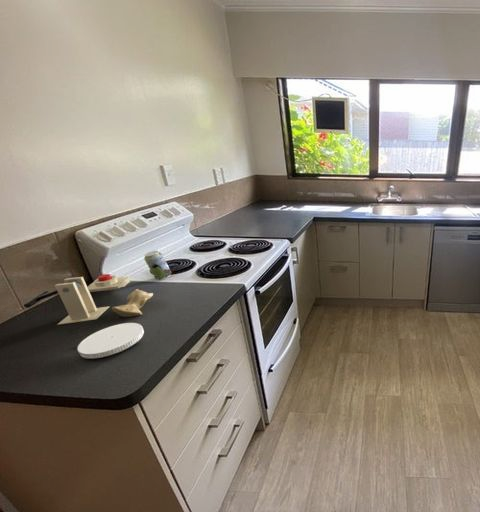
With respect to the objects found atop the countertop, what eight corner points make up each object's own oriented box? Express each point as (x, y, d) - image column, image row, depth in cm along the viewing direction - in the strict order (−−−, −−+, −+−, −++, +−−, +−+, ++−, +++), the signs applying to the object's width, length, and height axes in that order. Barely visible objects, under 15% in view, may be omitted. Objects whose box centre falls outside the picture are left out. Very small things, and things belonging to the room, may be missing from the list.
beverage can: (174, 277, 124) (166, 251, 119) (153, 283, 118) (144, 256, 114) (170, 273, 127) (162, 248, 123) (150, 278, 122) (141, 252, 118)
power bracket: (58, 327, 90) (39, 289, 85) (75, 313, 98) (57, 277, 92) (97, 322, 93) (81, 284, 88) (110, 309, 100) (96, 273, 95)
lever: (27, 309, 86) (20, 303, 85) (47, 296, 93) (41, 291, 92) (70, 293, 88) (64, 286, 87) (86, 281, 95) (81, 275, 94)
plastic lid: (93, 368, 74) (89, 360, 73) (72, 350, 81) (68, 343, 80) (154, 338, 86) (151, 331, 85) (132, 324, 92) (129, 318, 91)
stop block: (84, 295, 109) (80, 286, 108) (98, 284, 117) (94, 276, 115) (119, 291, 112) (116, 282, 111) (130, 281, 120) (127, 272, 119)
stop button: (97, 282, 111) (95, 278, 110) (102, 278, 114) (100, 274, 114) (108, 281, 112) (107, 277, 111) (113, 277, 115) (111, 273, 115)
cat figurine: (107, 307, 90) (130, 281, 100) (111, 321, 94) (133, 295, 104) (137, 311, 92) (157, 285, 102) (141, 325, 96) (159, 299, 106)
